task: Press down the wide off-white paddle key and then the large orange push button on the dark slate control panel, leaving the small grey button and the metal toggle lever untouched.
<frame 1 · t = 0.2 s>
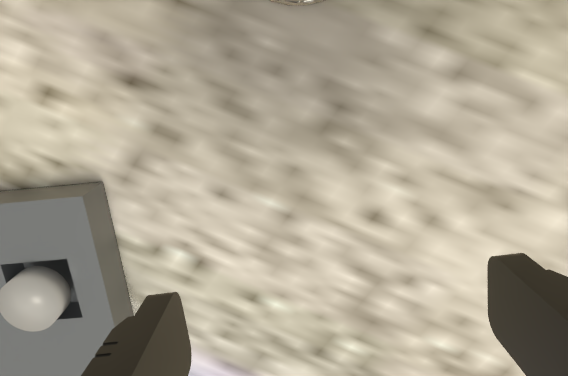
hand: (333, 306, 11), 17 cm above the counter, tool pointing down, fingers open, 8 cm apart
control panel: (13, 369, 32), on the counter
grey button: (35, 298, 26), point 4 cm above the counter, slide at 0.0 cm
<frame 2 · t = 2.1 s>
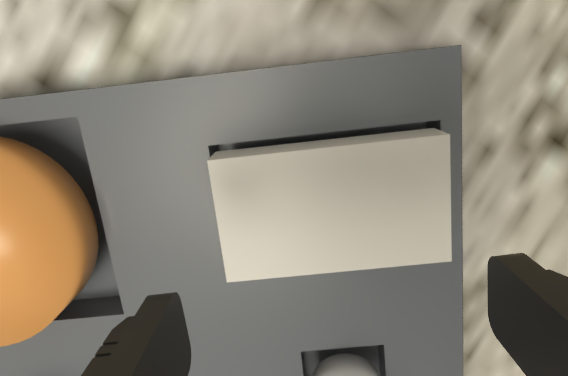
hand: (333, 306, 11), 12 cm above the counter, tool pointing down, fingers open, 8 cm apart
control panel: (186, 266, 24), on the counter
paddle key: (330, 205, 19), point 4 cm above the counter, slide at 0.0 cm
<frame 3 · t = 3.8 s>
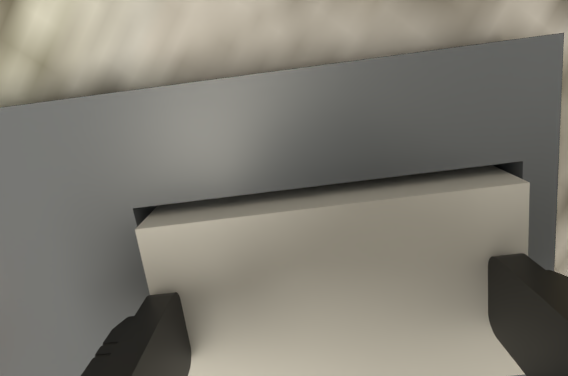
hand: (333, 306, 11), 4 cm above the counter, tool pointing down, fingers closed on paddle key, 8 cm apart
control panel: (125, 367, 16), on the counter
paddle key: (334, 286, 12), point 3 cm above the counter, slide at 1.1 cm, touching gripper
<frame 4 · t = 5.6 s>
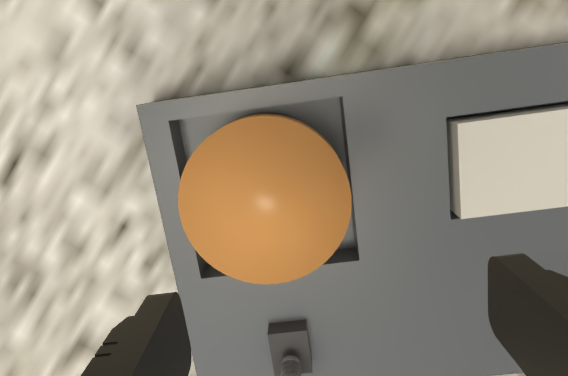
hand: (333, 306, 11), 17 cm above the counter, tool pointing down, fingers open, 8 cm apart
control panel: (391, 224, 28), on the counter
paddle key: (539, 157, 24), point 3 cm above the counter, slide at 1.1 cm
orange button: (265, 199, 24), point 4 cm above the counter, slide at 0.0 cm
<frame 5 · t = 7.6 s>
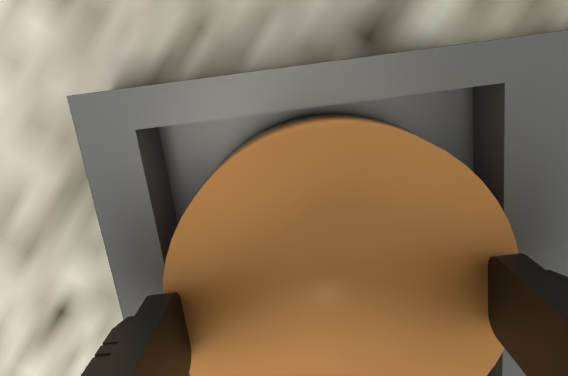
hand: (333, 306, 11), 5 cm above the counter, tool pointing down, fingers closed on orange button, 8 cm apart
control panel: (533, 312, 16), on the counter
orange button: (335, 280, 12), point 3 cm above the counter, slide at 0.8 cm, touching gripper
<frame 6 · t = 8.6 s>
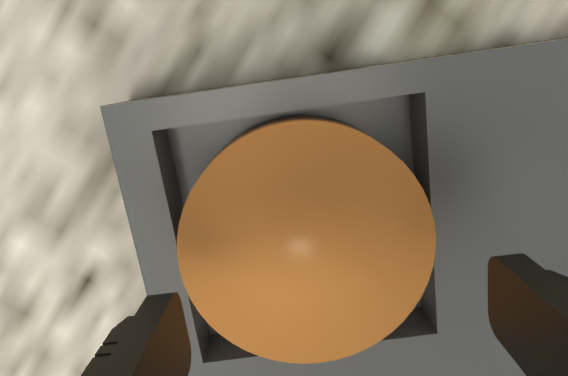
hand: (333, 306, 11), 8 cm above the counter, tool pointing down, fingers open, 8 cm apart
control panel: (469, 272, 20), on the counter
orange button: (304, 240, 16), point 3 cm above the counter, slide at 1.1 cm
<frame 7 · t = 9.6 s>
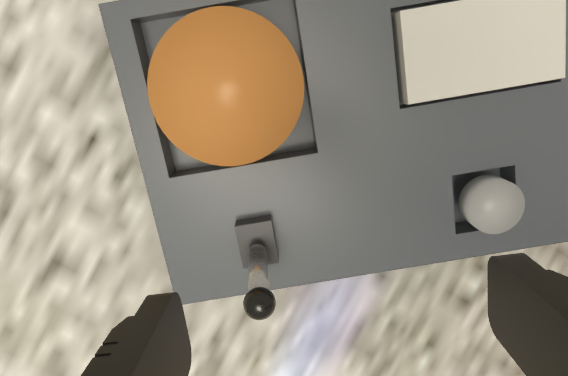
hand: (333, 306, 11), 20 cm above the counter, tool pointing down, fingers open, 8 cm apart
control panel: (348, 126, 30), on the counter
paddle key: (476, 46, 26), point 3 cm above the counter, slide at 1.1 cm
orange button: (228, 89, 26), point 3 cm above the counter, slide at 1.1 cm
toggle lever: (258, 290, 25), point 8 cm above the counter, hinge at -20.0°
grey button: (490, 203, 28), point 4 cm above the counter, slide at 0.0 cm
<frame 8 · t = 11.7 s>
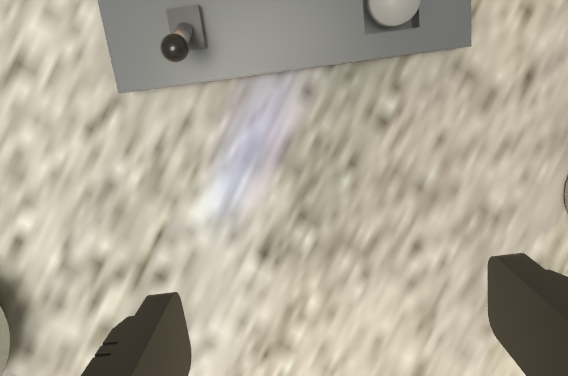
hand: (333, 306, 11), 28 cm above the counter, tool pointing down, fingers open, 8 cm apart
toggle lever: (177, 43, 29), point 8 cm above the counter, hinge at -20.0°
grey button: (393, 0, 32), point 4 cm above the counter, slide at 0.0 cm
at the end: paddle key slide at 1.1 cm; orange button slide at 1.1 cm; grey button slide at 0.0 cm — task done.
